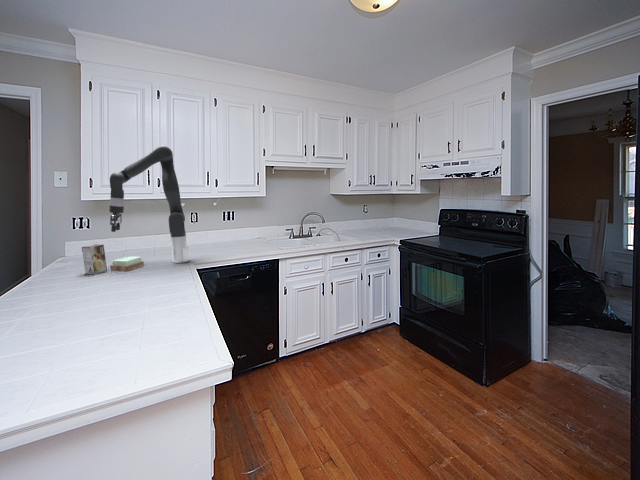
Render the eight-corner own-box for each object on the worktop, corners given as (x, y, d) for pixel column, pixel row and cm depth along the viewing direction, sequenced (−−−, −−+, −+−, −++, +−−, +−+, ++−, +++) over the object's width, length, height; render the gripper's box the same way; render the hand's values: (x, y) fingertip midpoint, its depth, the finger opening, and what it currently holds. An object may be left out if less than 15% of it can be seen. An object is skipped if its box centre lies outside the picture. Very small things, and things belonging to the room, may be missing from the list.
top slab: (141, 261, 204) (141, 256, 203) (127, 266, 192) (126, 261, 192) (128, 260, 206) (127, 256, 205) (112, 265, 194) (112, 260, 194)
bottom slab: (144, 266, 204) (143, 261, 204) (128, 272, 192) (127, 266, 191) (128, 266, 207) (127, 260, 206) (111, 271, 194) (110, 265, 194)
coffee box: (98, 270, 195) (95, 244, 192) (107, 270, 194) (104, 244, 191) (84, 274, 186) (81, 246, 184) (94, 274, 185) (90, 247, 182)
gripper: (120, 206, 194) (119, 232, 196) (126, 205, 208) (125, 229, 210) (106, 205, 192) (104, 231, 194) (113, 203, 206) (112, 228, 208)
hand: (115, 230), depth 202 cm, fingers open, 8 cm apart
